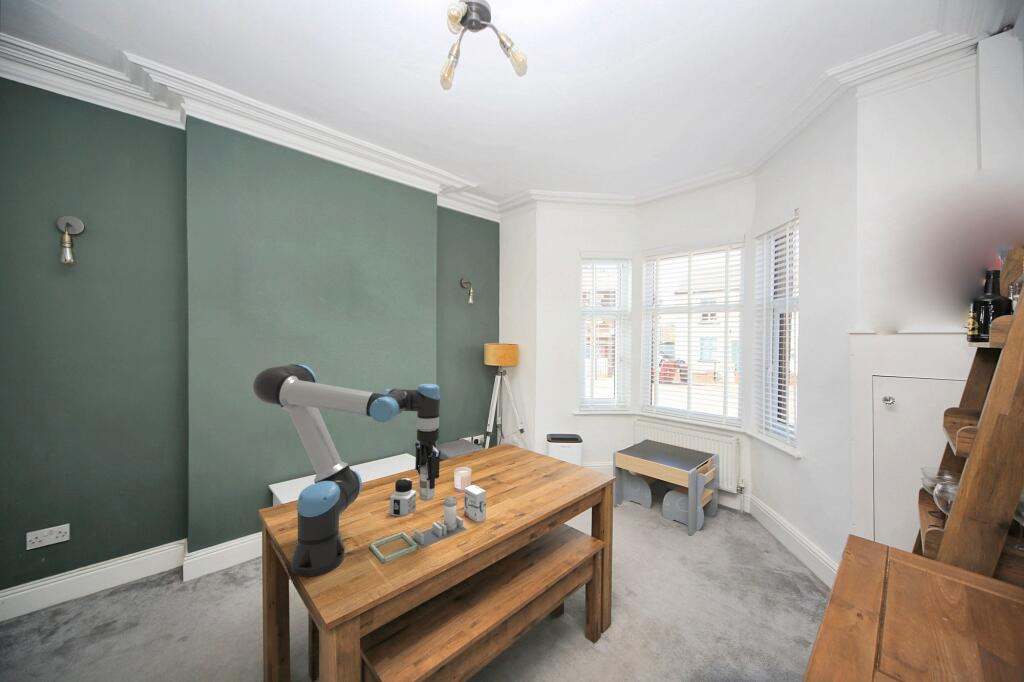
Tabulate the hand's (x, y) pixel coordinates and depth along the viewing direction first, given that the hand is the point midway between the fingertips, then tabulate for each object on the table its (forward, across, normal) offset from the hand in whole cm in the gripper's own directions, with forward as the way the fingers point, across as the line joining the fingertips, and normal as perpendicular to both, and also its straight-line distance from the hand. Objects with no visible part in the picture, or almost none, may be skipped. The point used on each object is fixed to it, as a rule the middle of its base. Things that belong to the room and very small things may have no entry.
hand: (426, 494), depth 130 cm
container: (+17, +24, -4) cm, 30 cm away
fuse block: (+16, 0, -6) cm, 17 cm away
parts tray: (+17, +1, +11) cm, 20 cm away
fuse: (+15, 0, -10) cm, 18 cm away
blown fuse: (+1, 0, 0) cm, 1 cm away
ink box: (+17, +1, -22) cm, 28 cm away
